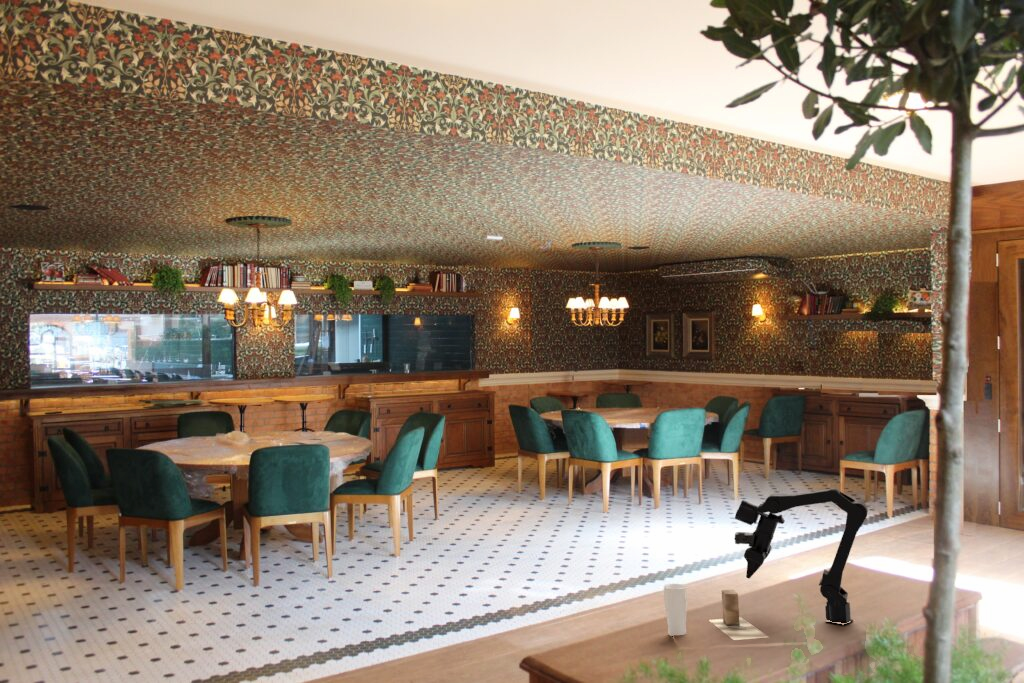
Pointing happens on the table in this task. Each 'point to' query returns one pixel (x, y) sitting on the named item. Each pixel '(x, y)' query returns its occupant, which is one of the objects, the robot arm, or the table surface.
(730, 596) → the block
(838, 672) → the table surface
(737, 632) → the board
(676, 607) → the drinking glass
